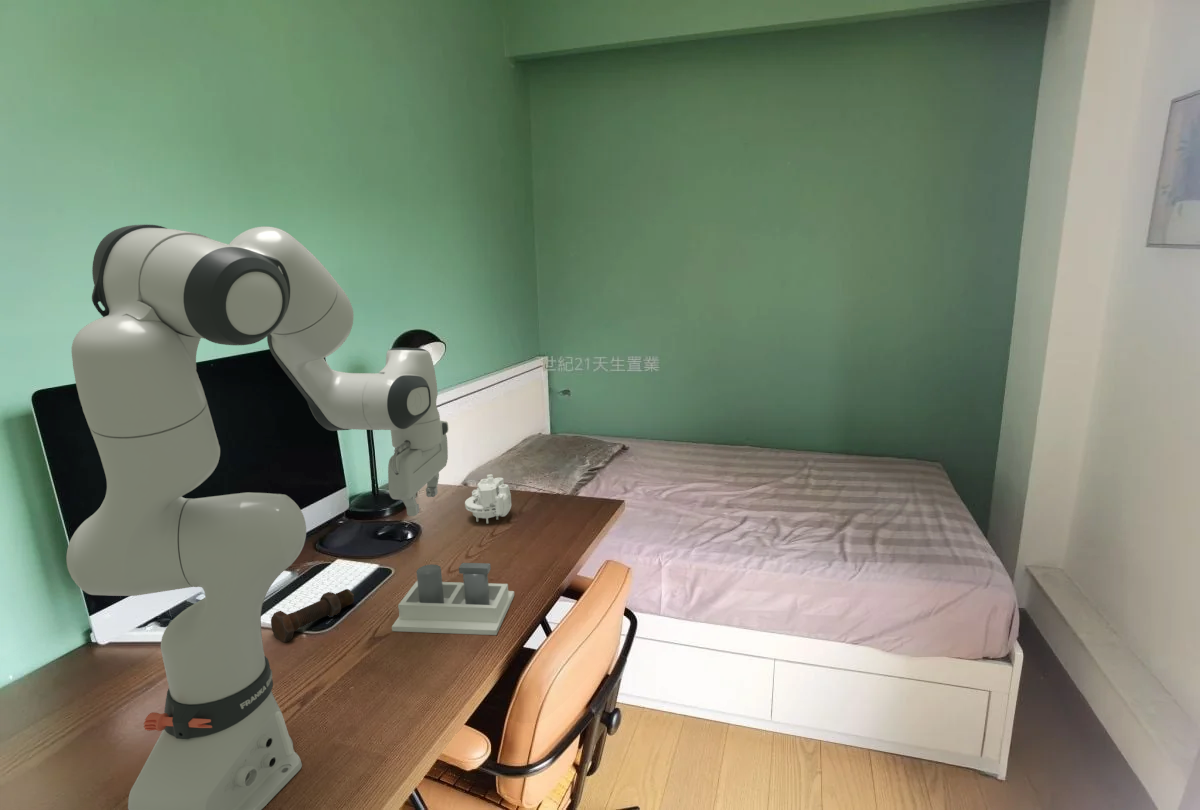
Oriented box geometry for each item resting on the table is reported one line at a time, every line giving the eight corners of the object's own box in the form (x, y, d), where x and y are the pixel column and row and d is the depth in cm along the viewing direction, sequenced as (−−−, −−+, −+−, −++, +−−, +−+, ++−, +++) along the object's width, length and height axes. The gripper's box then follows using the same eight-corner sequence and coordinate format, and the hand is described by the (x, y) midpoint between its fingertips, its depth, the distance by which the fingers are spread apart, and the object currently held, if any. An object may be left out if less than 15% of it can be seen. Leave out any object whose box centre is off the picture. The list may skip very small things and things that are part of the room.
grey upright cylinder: (439, 614, 122) (436, 576, 120) (416, 613, 123) (412, 575, 121) (447, 601, 127) (444, 564, 125) (425, 600, 127) (421, 564, 125)
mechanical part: (474, 510, 175) (471, 469, 172) (516, 511, 173) (514, 470, 171) (460, 527, 164) (456, 484, 161) (504, 529, 162) (502, 485, 160)
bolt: (354, 613, 129) (282, 648, 117) (340, 596, 131) (268, 629, 119) (361, 594, 126) (287, 628, 114) (346, 577, 128) (273, 608, 116)
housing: (496, 635, 117) (492, 584, 114) (392, 631, 119) (386, 581, 116) (514, 595, 130) (511, 549, 128) (420, 592, 132) (415, 547, 130)
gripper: (410, 450, 106) (418, 527, 109) (451, 420, 126) (456, 486, 129) (374, 450, 107) (383, 526, 110) (420, 420, 127) (426, 486, 130)
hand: (423, 504), depth 120 cm, fingers open, 8 cm apart
